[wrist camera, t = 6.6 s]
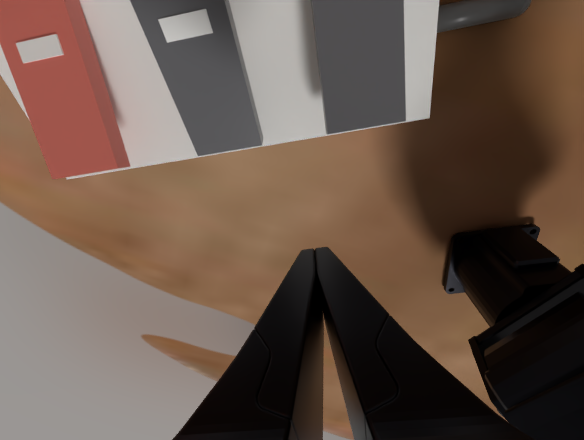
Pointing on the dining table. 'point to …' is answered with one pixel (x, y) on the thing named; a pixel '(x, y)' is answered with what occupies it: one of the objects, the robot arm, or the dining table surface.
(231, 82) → the rocker middle
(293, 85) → the power strip
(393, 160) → the dining table surface
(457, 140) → the dining table surface
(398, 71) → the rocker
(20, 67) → the rocker red
